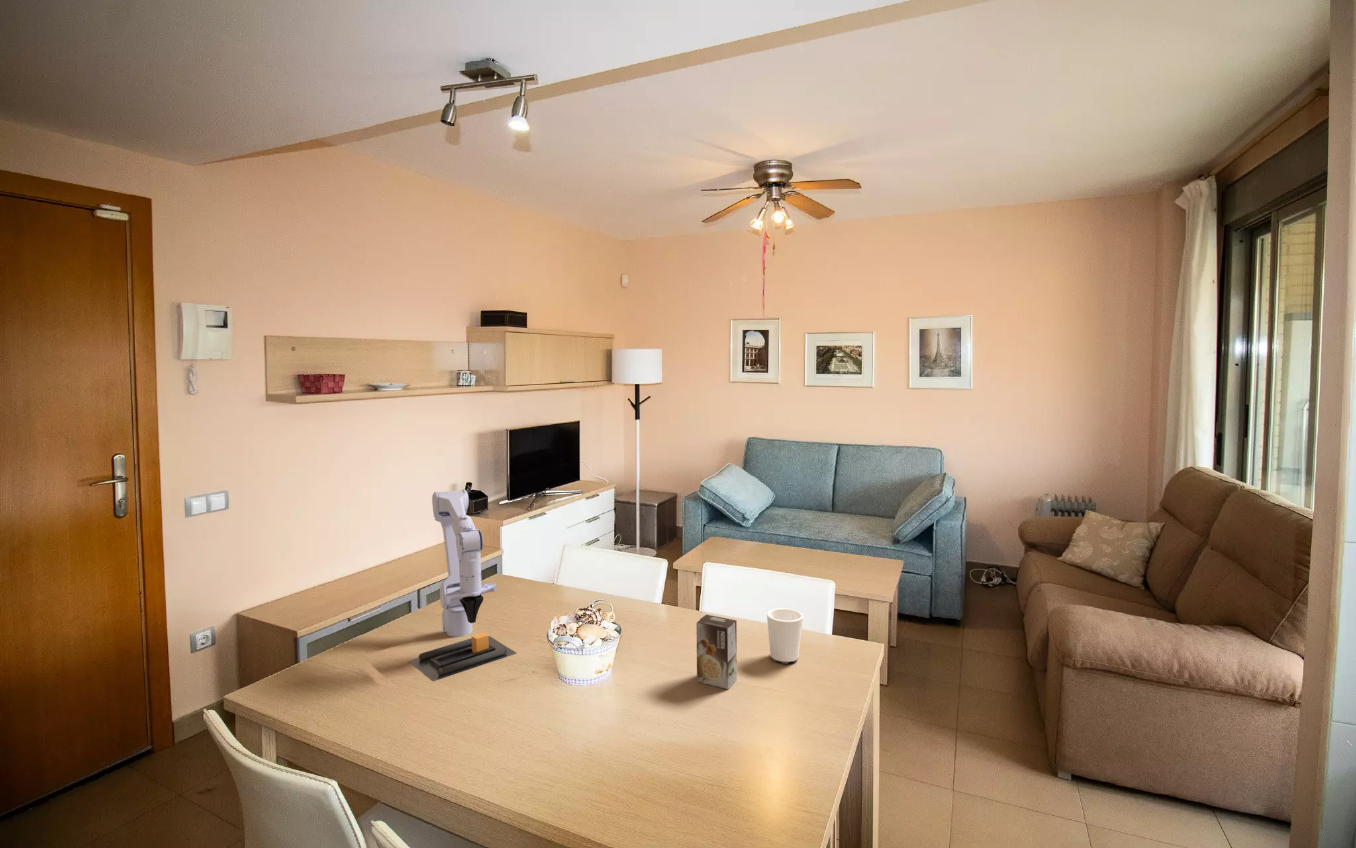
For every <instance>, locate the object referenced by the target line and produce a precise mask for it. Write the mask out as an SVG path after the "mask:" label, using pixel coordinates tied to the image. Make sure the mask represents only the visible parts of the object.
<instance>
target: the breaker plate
mask: <svg viewBox="0 0 1356 848" xmlns="http://www.w3.org/2000/svg"><path fill="white" fill-rule="evenodd" d="M488 640H489V648H488V649H485V650H482V651H479V652H475V653H474V652H472V645H470V646H467V647H463V648H460V649H457V650H454V651H450V652H447V653H444V654H441V655H437V656H434V657H431V658H428V659H424V660H420V659H419V657H416V658H413V659H410V660H409V659H408V663H410V664H412V665H413V667H414V668H416V669H417V670H418V671H419V672H421V673H422V674H423V675H424V676H426V677H427V678H428V679H429V680H431V681H432V682H435V681H439V680H442V679H445V678H447V677H451V676H455V675H457V674H460V673H463V672H466V671H469V670H472V669H475V668H478V667H481V666H484V665H487V664H490V663H492V662H493V663H494V662H495V661H499V660H502V659H504V658H508V657H511V656H514V655H516V654H518V652H516V651H514V650H513V649H512V648H510V647H509V646H507V645H505V644H503V643H502V642H500V641H498V640H497V639H495V638H493V637H492V636H491V635H488ZM501 648H506V649H507V653H506V654H504V655H501V656H498V657H495V658H492V659H489V660H486V661H483V662H480V663H477V664H474V665H471V666H468V667H465V668H462V669H459V670H455V671H452V672H449V673H446V674H443V675H438V673H437V671H438V669H439V668H442V667H445V666H448V665H451V664H454V663H457V662H460V661H464V660H467V659H470V658H473V657H476V656H479V655H482V654H485V653H488V652H492V651H495V650H498V649H501Z"/></svg>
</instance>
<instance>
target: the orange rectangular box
mask: <svg viewBox="0 0 1356 848" xmlns="http://www.w3.org/2000/svg"><path fill="white" fill-rule="evenodd" d="M488 636H489V635H488V634H487V633H485V632H480V633H477V634H472V635H471V638H472V652H474V653H475V652H479V651H482V650H485V649H488V648H489V640H488Z"/></svg>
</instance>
